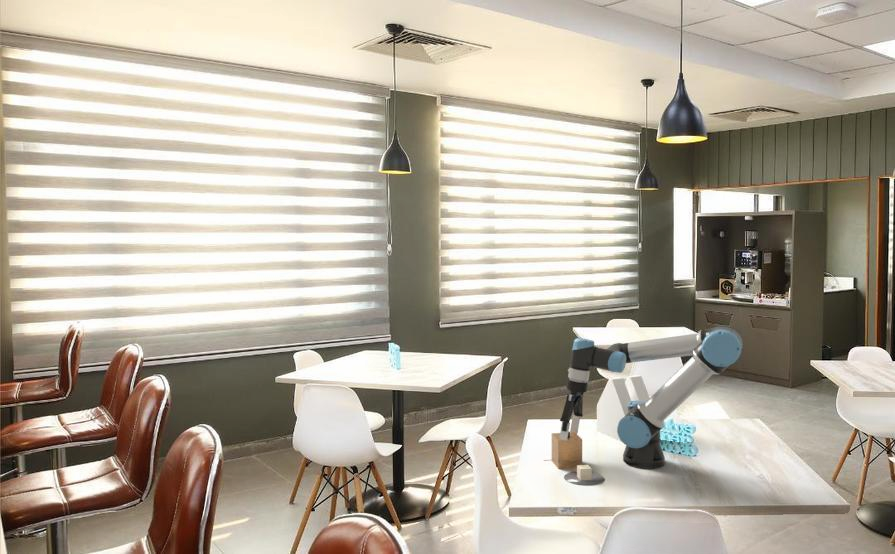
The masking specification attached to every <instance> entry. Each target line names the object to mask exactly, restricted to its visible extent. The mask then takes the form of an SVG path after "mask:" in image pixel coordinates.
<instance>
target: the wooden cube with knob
mask: <svg viewBox="0 0 895 554" xmlns="http://www.w3.org/2000/svg"><path fill="white" fill-rule="evenodd" d="M559 438H560V432H556V433H554V432H553V433H551V461H552V463H553V464H554V466H555V467H556V468H557V469H558V470H560V469H561V470H562V469H577V465H583V439H582V437H580V436H579V435H578V433H577V434H576V433H575V432H570V431H569V432H568V438H567V441H565V440H562V439H559Z"/></svg>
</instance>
